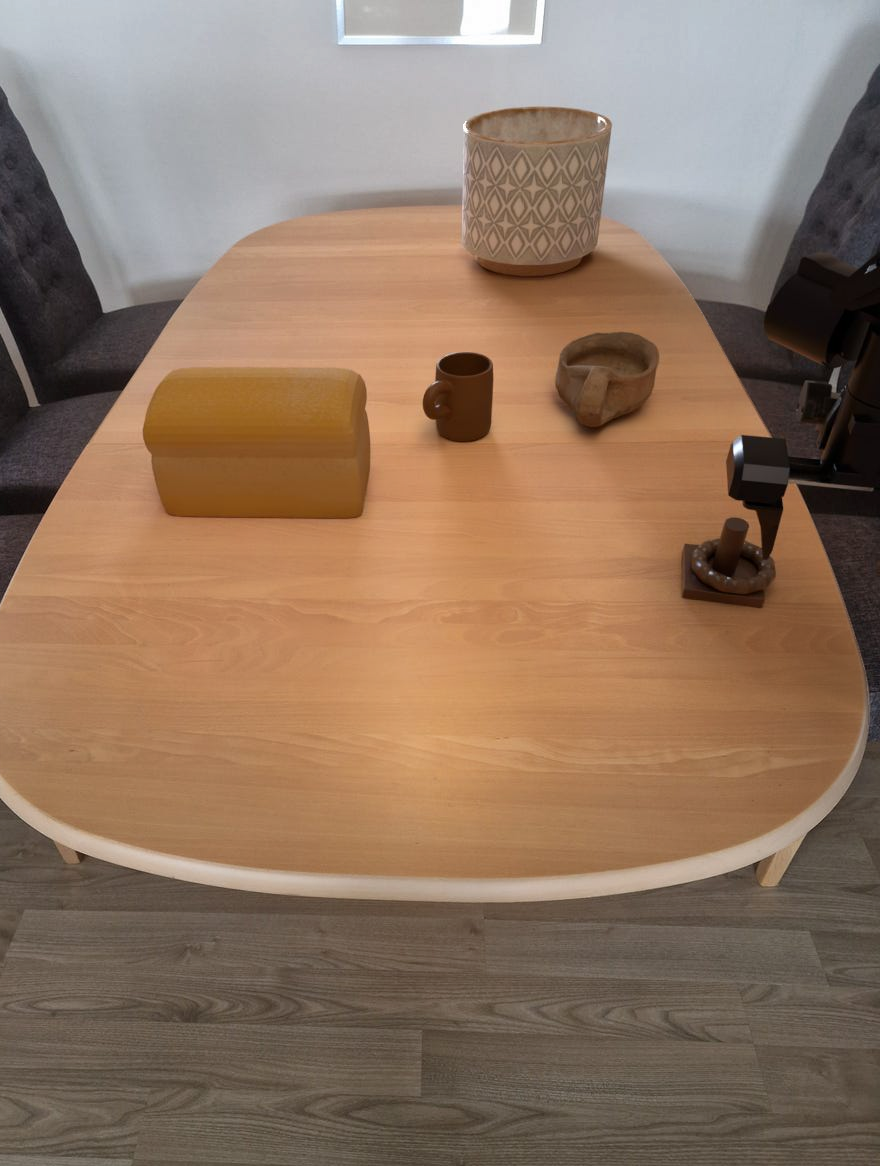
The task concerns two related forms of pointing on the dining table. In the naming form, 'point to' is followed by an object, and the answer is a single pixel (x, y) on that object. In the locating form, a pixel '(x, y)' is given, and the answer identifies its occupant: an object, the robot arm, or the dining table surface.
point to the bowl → (606, 375)
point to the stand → (723, 567)
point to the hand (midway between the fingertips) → (821, 563)
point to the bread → (260, 442)
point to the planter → (533, 188)
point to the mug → (461, 396)
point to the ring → (730, 583)
